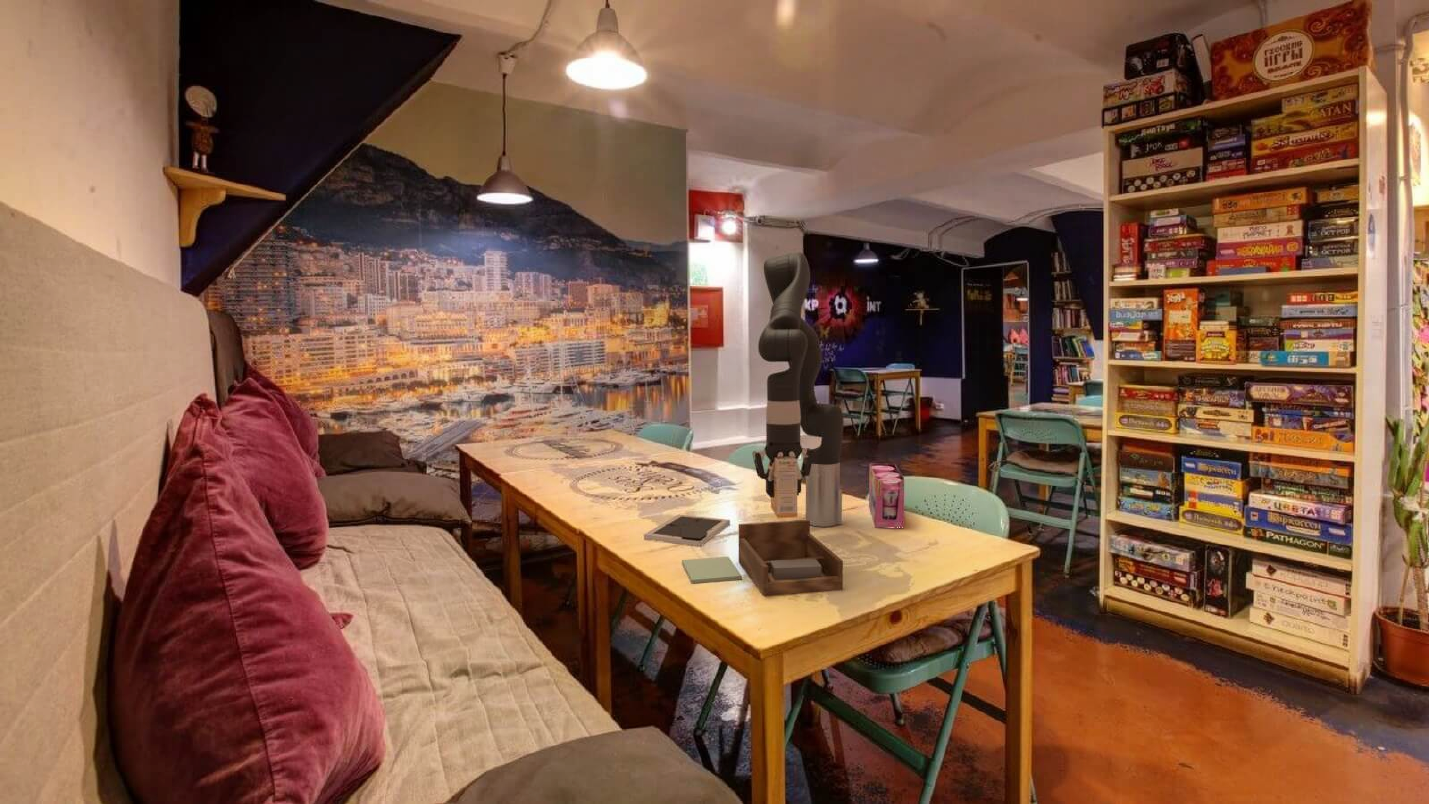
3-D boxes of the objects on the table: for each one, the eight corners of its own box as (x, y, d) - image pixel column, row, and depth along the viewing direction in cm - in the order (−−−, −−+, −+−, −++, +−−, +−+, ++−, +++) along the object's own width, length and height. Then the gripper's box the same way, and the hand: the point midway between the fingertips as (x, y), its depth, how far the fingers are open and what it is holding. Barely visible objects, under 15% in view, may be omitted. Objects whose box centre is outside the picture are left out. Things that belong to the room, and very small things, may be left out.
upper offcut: (815, 570, 148) (816, 559, 148) (821, 578, 144) (821, 566, 144) (770, 572, 147) (770, 560, 147) (774, 579, 143) (774, 568, 143)
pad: (728, 559, 161) (728, 556, 161) (741, 579, 149) (741, 575, 148) (681, 563, 159) (681, 560, 159) (691, 583, 146) (691, 579, 146)
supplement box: (769, 508, 158) (769, 452, 156) (790, 507, 158) (790, 451, 157) (776, 518, 150) (776, 459, 148) (798, 517, 150) (798, 458, 148)
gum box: (905, 530, 184) (906, 480, 182) (875, 529, 185) (875, 480, 184) (894, 507, 207) (895, 463, 206) (868, 507, 209) (868, 462, 207)
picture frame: (700, 549, 171) (730, 527, 190) (699, 538, 171) (729, 517, 190) (644, 542, 177) (678, 521, 196) (643, 531, 177) (678, 511, 196)
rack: (808, 556, 163) (808, 519, 162) (842, 589, 143) (843, 546, 142) (738, 562, 160) (738, 524, 159) (763, 595, 139) (763, 552, 138)
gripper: (808, 416, 157) (808, 490, 159) (747, 419, 154) (748, 494, 156) (820, 421, 149) (819, 497, 151) (756, 424, 146) (756, 502, 148)
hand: (783, 495), depth 153 cm, fingers closed on supplement box, 5 cm apart
